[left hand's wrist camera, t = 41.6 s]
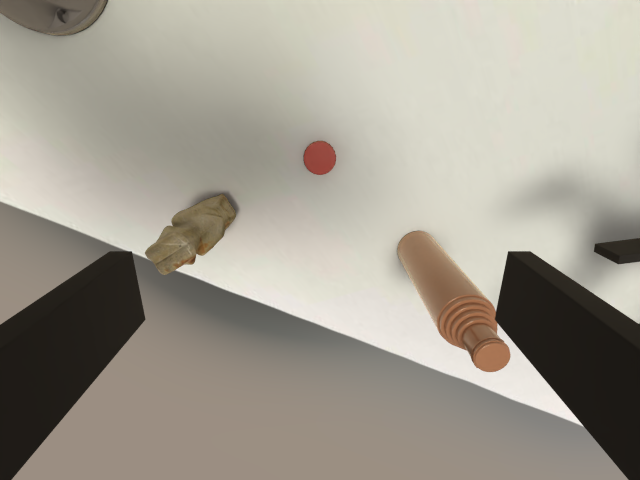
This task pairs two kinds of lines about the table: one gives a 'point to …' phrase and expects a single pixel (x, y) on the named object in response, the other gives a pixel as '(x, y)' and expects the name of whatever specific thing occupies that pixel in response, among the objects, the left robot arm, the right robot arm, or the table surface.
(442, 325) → the bottle
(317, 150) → the cap
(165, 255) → the sculpture
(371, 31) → the table surface
